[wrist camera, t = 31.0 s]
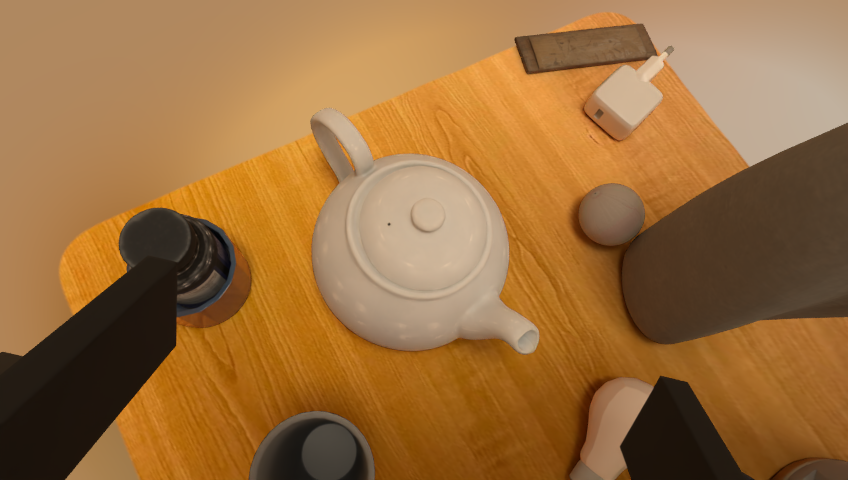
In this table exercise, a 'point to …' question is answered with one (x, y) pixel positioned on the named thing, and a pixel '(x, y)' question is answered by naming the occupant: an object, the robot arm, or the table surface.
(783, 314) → the vase
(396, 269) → the teapot
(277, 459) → the cup
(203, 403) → the table surface
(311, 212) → the table surface
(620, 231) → the ball
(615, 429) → the light bulb
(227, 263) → the pill bottle
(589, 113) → the power adapter
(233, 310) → the cylindrical container
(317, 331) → the table surface
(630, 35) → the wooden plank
